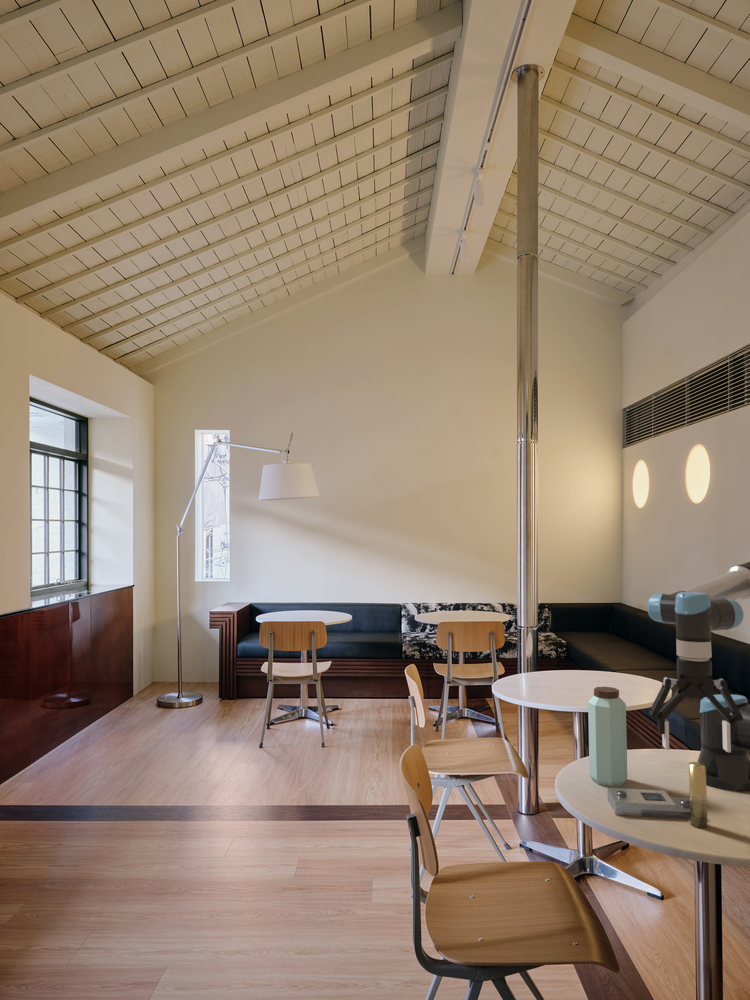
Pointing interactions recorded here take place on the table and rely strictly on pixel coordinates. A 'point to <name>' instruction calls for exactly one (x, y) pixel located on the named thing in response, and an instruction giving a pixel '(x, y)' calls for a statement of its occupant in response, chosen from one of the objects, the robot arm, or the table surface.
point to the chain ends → (648, 803)
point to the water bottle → (607, 737)
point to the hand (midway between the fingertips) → (696, 749)
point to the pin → (698, 795)
